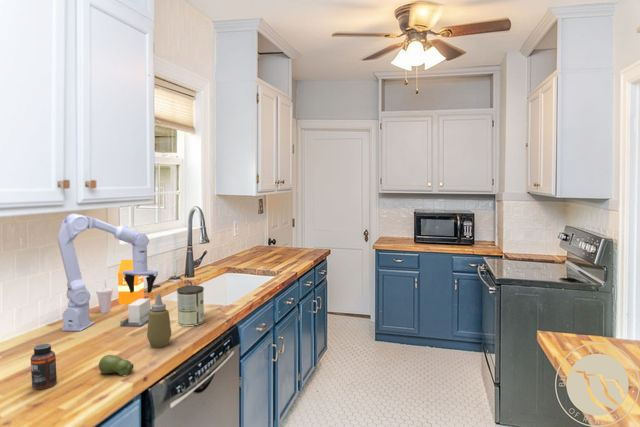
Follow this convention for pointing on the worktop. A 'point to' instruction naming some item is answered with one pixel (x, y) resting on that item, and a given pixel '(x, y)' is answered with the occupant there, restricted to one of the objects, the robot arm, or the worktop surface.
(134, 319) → the white rectangular block
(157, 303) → the squeeze bottle
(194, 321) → the coffee can
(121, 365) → the green lumpy rounded piece
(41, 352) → the supplement bottle
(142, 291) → the orange juice
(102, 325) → the worktop surface
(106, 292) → the smoothie
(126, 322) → the dark grey tray
